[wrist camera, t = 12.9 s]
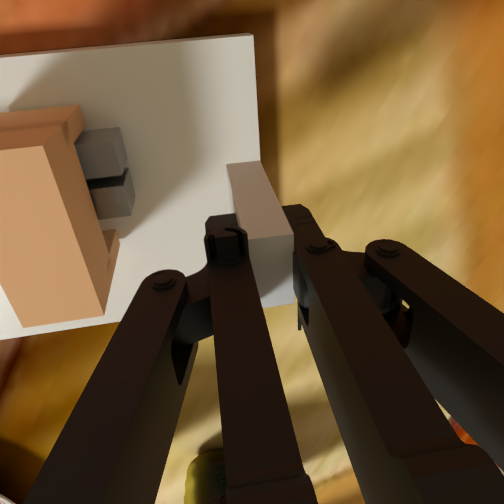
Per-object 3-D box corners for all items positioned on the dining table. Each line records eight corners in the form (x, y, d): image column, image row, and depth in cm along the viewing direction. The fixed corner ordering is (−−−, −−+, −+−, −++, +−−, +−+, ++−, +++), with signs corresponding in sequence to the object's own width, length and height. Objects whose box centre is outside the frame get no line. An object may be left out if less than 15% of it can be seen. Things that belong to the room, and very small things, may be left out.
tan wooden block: (79, 104, 19) (42, 145, 14) (120, 244, 23) (104, 315, 18) (1, 112, 18) (-66, 157, 13) (57, 252, 23) (23, 328, 18)
